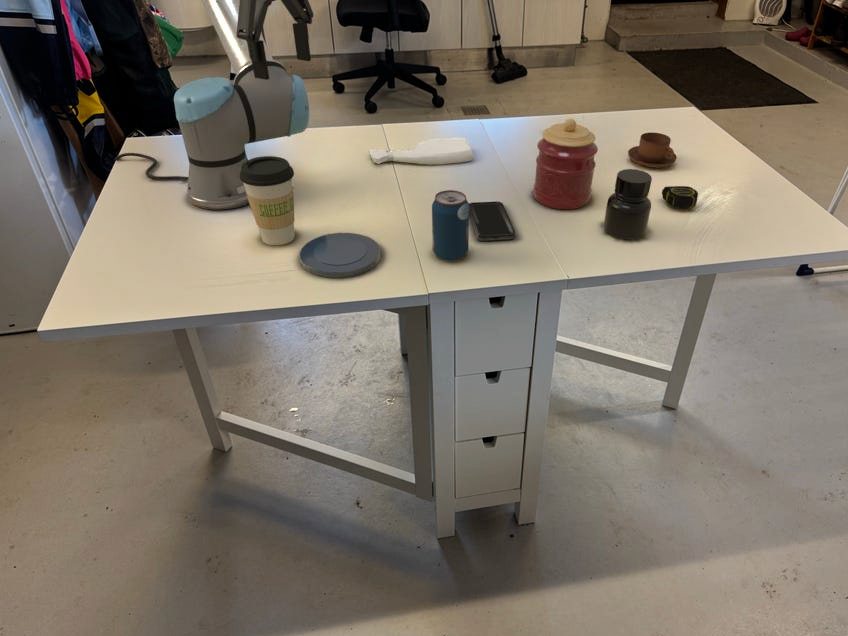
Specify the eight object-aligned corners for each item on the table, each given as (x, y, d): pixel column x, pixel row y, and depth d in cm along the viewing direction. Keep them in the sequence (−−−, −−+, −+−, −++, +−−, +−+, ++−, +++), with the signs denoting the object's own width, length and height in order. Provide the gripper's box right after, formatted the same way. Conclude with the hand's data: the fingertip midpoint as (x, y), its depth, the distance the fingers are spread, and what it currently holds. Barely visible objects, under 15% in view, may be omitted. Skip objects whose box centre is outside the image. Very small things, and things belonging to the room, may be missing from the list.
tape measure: (689, 198, 150) (693, 183, 148) (699, 212, 145) (703, 196, 143) (660, 199, 150) (663, 183, 147) (669, 212, 145) (672, 197, 142)
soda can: (475, 257, 127) (476, 199, 120) (445, 267, 124) (445, 208, 117) (455, 241, 132) (455, 185, 124) (425, 251, 128) (424, 194, 121)
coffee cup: (291, 252, 126) (278, 178, 117) (243, 246, 128) (227, 172, 118) (311, 229, 134) (301, 157, 124) (266, 223, 135) (252, 152, 126)
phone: (501, 201, 144) (516, 234, 132) (501, 205, 144) (515, 239, 133) (466, 202, 143) (477, 236, 131) (465, 207, 143) (477, 241, 132)
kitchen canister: (601, 198, 149) (614, 120, 138) (567, 216, 142) (577, 135, 131) (556, 180, 156) (564, 104, 145) (521, 197, 148) (527, 118, 137)
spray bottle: (474, 163, 162) (374, 171, 158) (464, 146, 170) (369, 153, 166) (474, 151, 160) (373, 159, 156) (464, 135, 168) (368, 142, 164)
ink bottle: (648, 223, 140) (659, 169, 133) (647, 243, 134) (659, 188, 126) (602, 218, 142) (610, 164, 134) (599, 237, 135) (608, 182, 127)
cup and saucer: (681, 159, 168) (687, 136, 164) (665, 175, 160) (670, 151, 156) (637, 149, 173) (641, 125, 169) (619, 163, 165) (623, 139, 161)
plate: (285, 268, 122) (284, 262, 121) (326, 232, 133) (325, 226, 132) (357, 284, 119) (356, 278, 118) (393, 246, 130) (393, 240, 129)
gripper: (235, -51, 103) (259, 89, 116) (323, -68, 121) (335, 55, 134) (196, -55, 105) (225, 83, 118) (288, -71, 123) (304, 50, 136)
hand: (283, 69), depth 126 cm, fingers open, 13 cm apart
